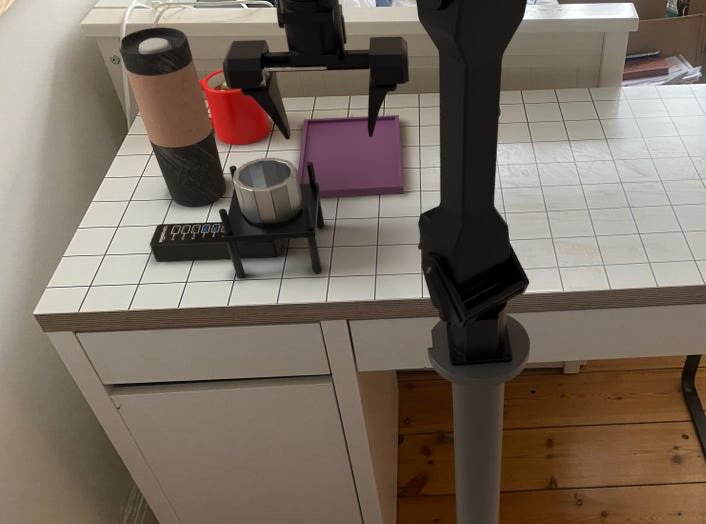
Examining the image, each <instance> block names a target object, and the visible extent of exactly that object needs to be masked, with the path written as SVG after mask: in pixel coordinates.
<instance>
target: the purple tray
mask: <svg viewBox="0 0 706 524" xmlns="http://www.w3.org/2000/svg"><path fill="white" fill-rule="evenodd" d="M400 127H401V126H400V115H399V114H390V115H386V114H385V115H378V117H377V121H376V125H375V129H374V133H373V136H372V137H369V134H368V115H366V116H344V117H323V118H304V119H303V125H302V134H301V135H302V136H301V142H300V151H299V157H298V159H299V160H298V168H297V174H298V179H299V184H307V183H309V178H308V172H307V166H306V163H307V162H312V163H313V166H314V172H315V178H316V183H319V188H320V189H319V196H320V199H321V198H322V199H323V198H339V197H340V198H341V197H357V196H374V195H391V194H392V195H393V194H395V195H396V194H404V177H403V175H404V173H403V159H402V144H401V129H400Z"/></svg>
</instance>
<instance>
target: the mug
mask: <svg viewBox="0 0 706 524" xmlns="http://www.w3.org/2000/svg"><path fill="white" fill-rule="evenodd" d="M199 82H200V86H201V89H202V92H203V91H204V94H205V98H206V102H207V106H208V111H209V115H210V121H211V124H212V128H213V129H214V133H215V136H216V137H217V139H218V140H219V141H220V142H222V143H224V144H227V145H232V146H233V145H234V146H235V145H237V146H241V145H250V144H254V143H256V142H260V141H261V140H263V139H265V138H267V137H268V135H269V134H270V133H271V130H272V127H271V122H270V116H269V115H268V114H267V113H266V112H265V111H264V109H263V108H262V107H261V106H260V105H259V104H258V103H257V102H256V101H255V100H254V99H253V98H252V97H251V96H244V95H242V93H241V89H231V88H229V87H227V85H226V81H225V77H224V73H223V68H222V69H219V70H216V71H213V72H211V73H209V74H208V75H206V76H205V77H204V79H199Z"/></svg>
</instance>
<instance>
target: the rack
mask: <svg viewBox="0 0 706 524" xmlns="http://www.w3.org/2000/svg"><path fill="white" fill-rule="evenodd" d="M306 166H307V172H308V178H309V183H307V184H300V189H301V195H302V208H301V209H300V210H299V211H298V213H297V214H296V215H295V216H293V217H292V218H290V219H289V220H286V221H284V222H280V223H276V224H260V223H256V222H253V221H251V220H249V219H247V218H246V217H245V215H244V214H243V213H242V212H241V208H240V205H239V201H238V197H237V193H236V189H235V186H234V182H233V177H234V173H235V171H236V170H237V169H238V168H237V166H236V165H230V166H229V168H228V169H229V172H230V176H231V180H232V185H233V191H232V195H231V200H230V204H229V209H228V211H227V209H226V208H220V209H219V210H218V214H219V218H220V220H221V221H220V222H222V224H223V228H224V235H223V239H224V242H225V243H227V245H228V249H229V252H230V255H231V262H232V264H233V269H234V272H235V273H234V274H235V276H236V278H238V279H243V278H245V277H246V272H245V269H244V264H243V261H242V258H241V257H240V254H239V250H238V247H237V243H236V242H245V241H262V240H280V239H281V240H294V239H306V242H307V247H308V253H309V258H310V262H311V268H312V272H313V273H314V274H320V273H322V270H323V269H322V264H321V259H320V254H319V253H320V252H319V248H318V243H317V237H316V236H317V229H318V230H323V229H325V220H324V219H325V218H324V215H323V208H322V201H321V198H320V196H319V189H320V188H319V183H316V178H315V172H314V166H313V163H312V162H307V163H306Z"/></svg>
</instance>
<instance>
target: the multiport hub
mask: <svg viewBox="0 0 706 524" xmlns="http://www.w3.org/2000/svg"><path fill="white" fill-rule="evenodd" d="M223 235H224V228H223V224H222V221H214V222H213V221H212V222H182V223H161V224H157V226H155V229H154V232H153V234H152V237H151V240H150V242H149V247H150V249H151V252H152V255H153V258H154V260H155V261H156V262H176V261H177V262H179V261H203V260H205V261H206V260H229V259H231V255H230V252H229V249H228V245H227V243H225V242H224V239H223ZM281 242H282V239H280V240H262V241H245V242H236V243H237V247H238V250H239V254H240V257H241V259H253V258H256V259H257V258H276V257H278V256H279V252H280V248H281ZM231 260H232V259H231Z"/></svg>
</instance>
